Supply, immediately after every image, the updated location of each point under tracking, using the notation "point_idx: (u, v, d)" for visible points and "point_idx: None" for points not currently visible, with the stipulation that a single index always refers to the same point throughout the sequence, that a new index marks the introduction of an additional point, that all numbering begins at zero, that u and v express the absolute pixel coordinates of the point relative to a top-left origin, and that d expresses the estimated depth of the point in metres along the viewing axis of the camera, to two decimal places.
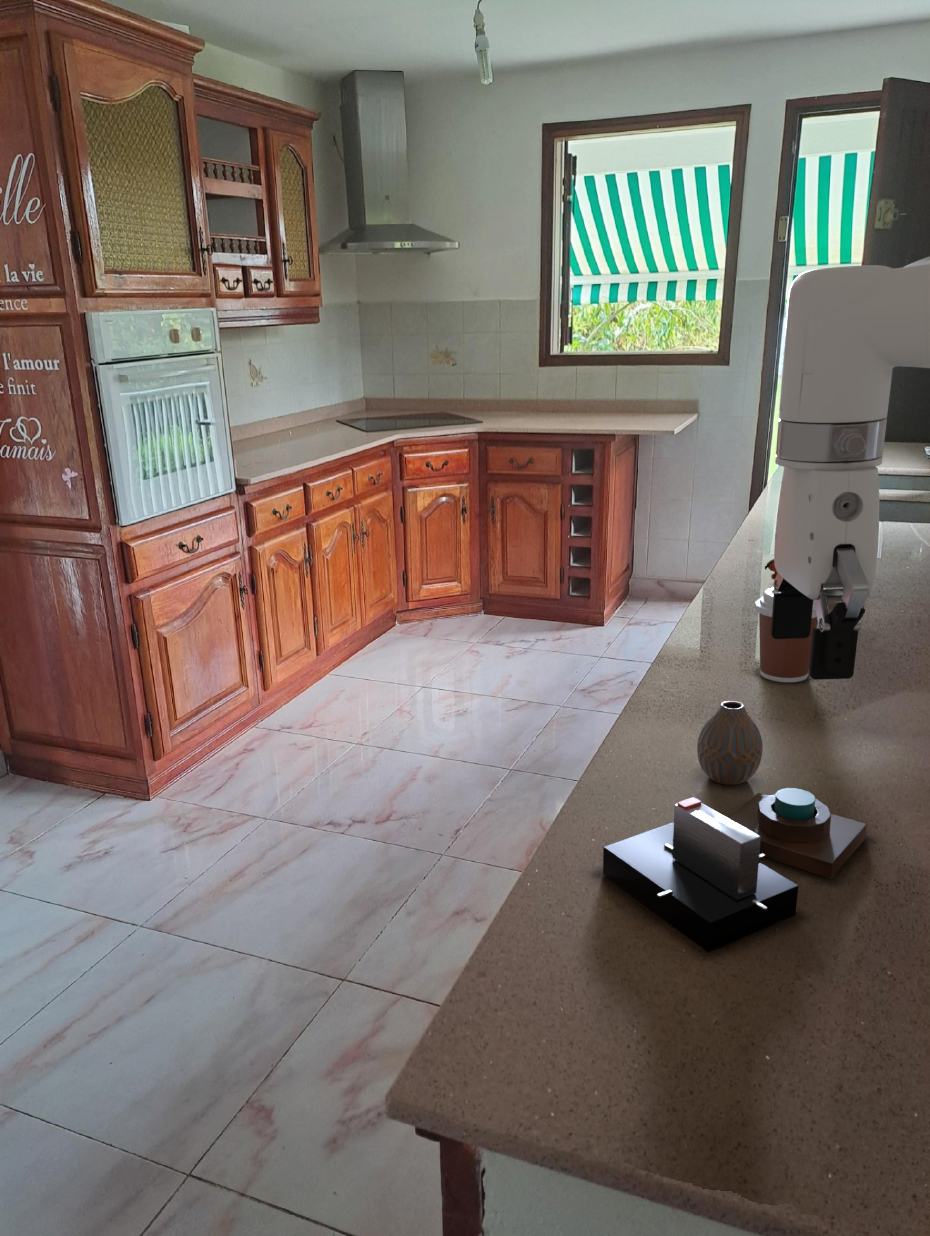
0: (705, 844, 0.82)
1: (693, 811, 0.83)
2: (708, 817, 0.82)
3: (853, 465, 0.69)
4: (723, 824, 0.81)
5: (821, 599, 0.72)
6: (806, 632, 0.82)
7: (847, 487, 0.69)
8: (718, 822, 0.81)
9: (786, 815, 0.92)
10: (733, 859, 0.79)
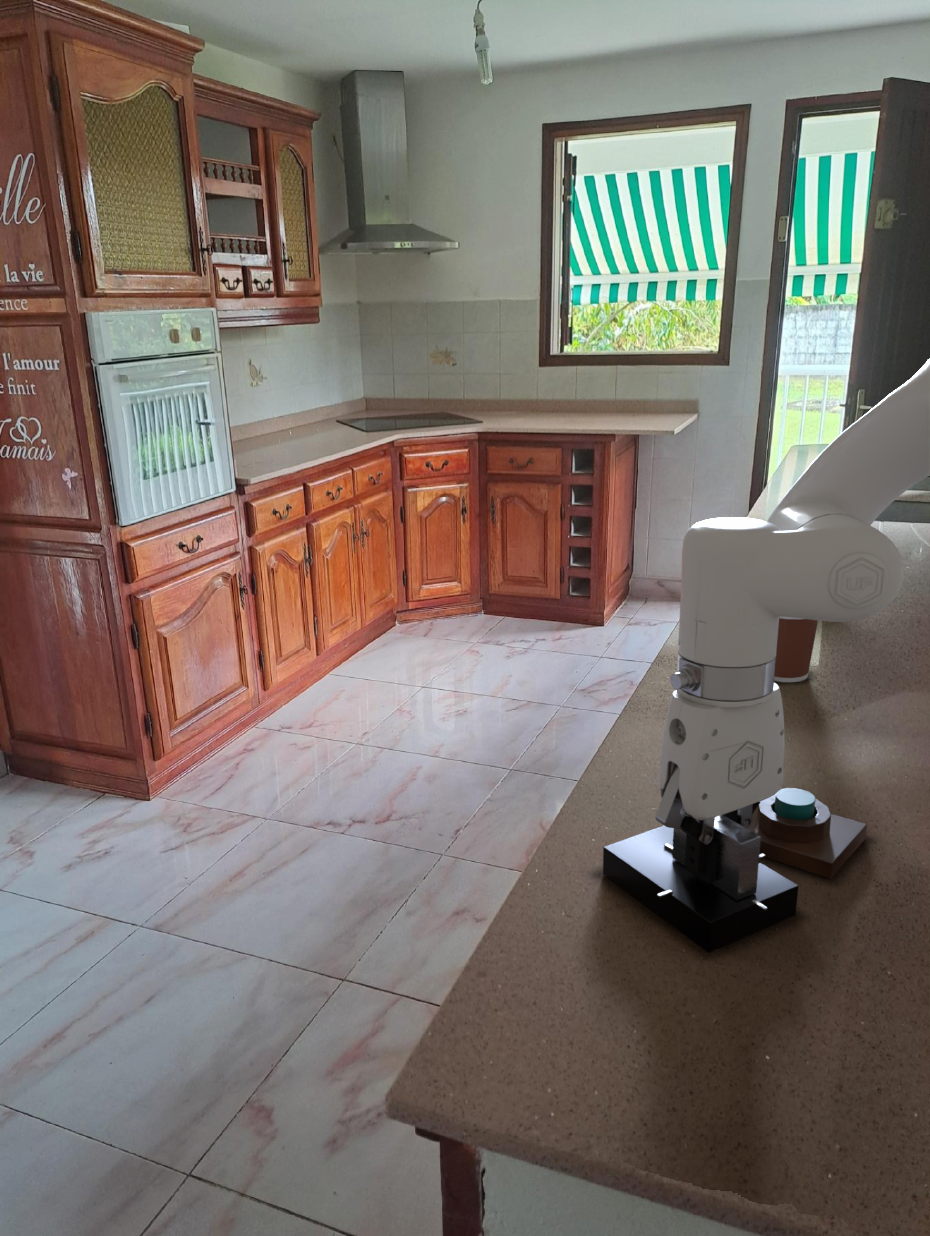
0: None
1: None
2: None
3: (693, 698, 0.76)
4: (723, 824, 0.81)
5: (682, 808, 0.81)
6: None
7: (679, 715, 0.76)
8: (718, 822, 0.81)
9: (786, 815, 0.92)
10: (733, 859, 0.79)
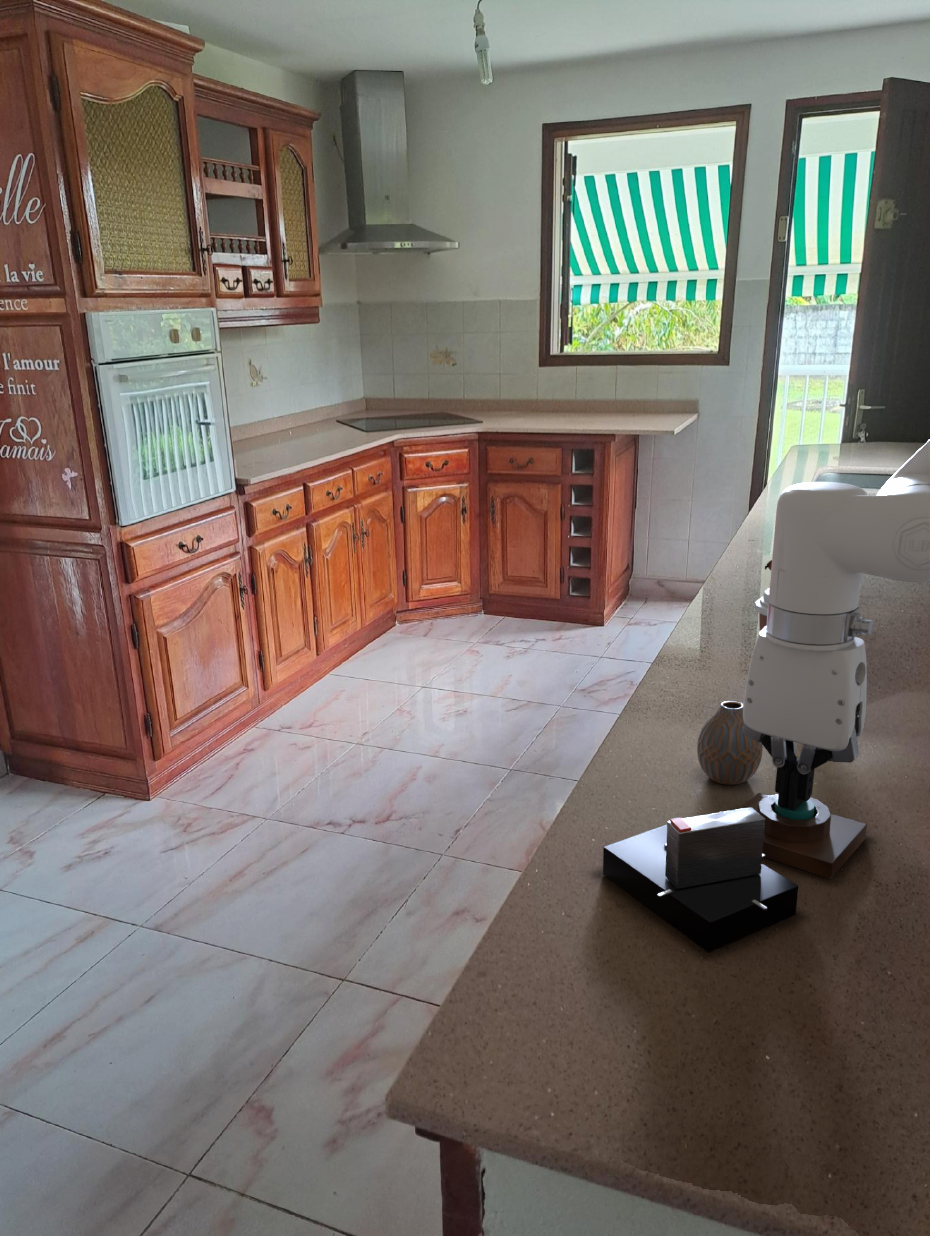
0: (721, 847, 0.82)
1: (697, 827, 0.81)
2: (710, 822, 0.81)
3: (853, 640, 0.85)
4: (727, 818, 0.82)
5: (814, 754, 0.88)
6: None
7: (859, 659, 0.84)
8: (721, 819, 0.82)
9: None
10: (756, 838, 0.82)
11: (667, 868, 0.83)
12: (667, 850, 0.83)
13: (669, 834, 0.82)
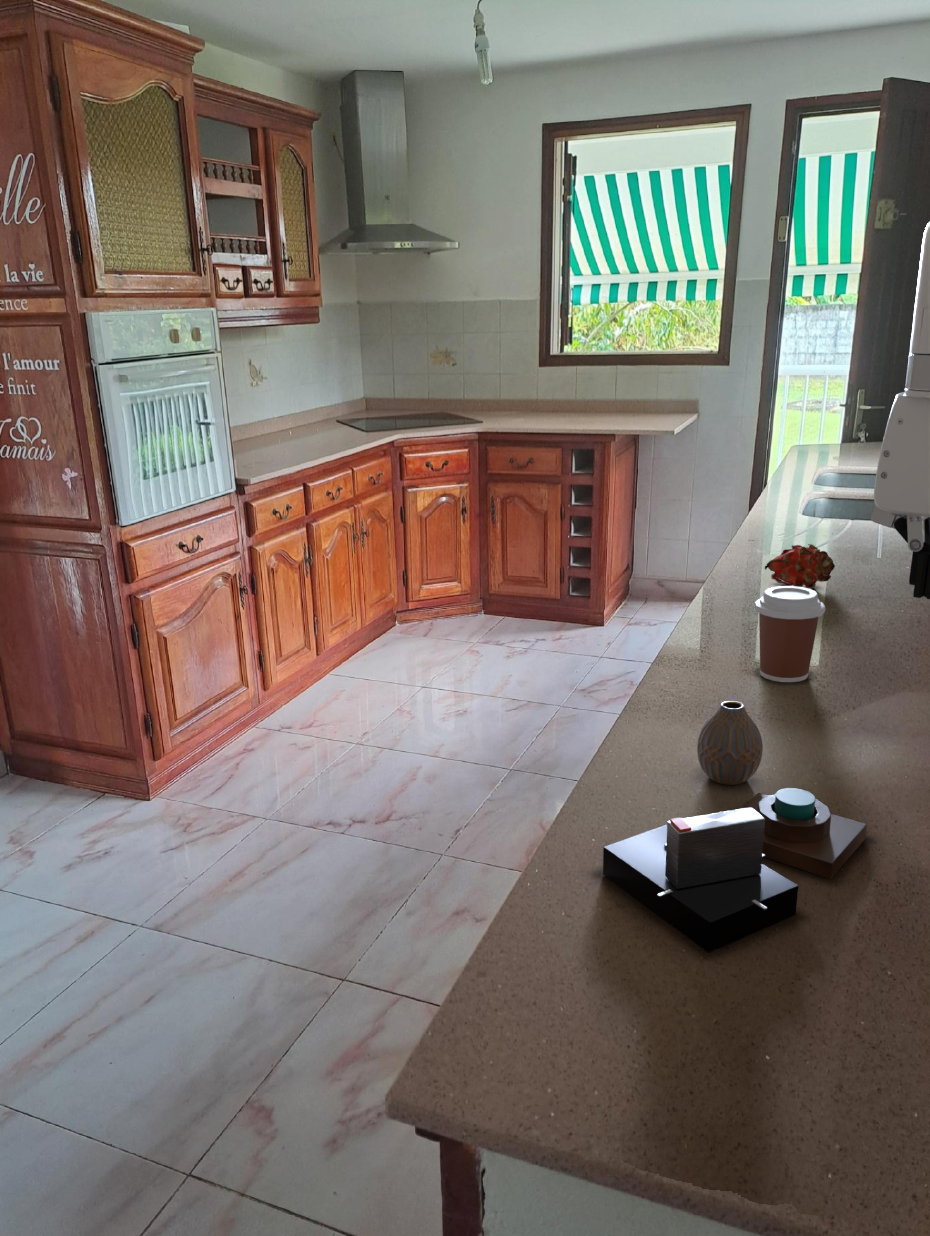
0: (721, 847, 0.82)
1: (697, 827, 0.81)
2: (710, 822, 0.81)
3: None
4: (727, 818, 0.82)
5: None
6: None
7: None
8: (721, 819, 0.82)
9: (786, 815, 0.92)
10: (756, 838, 0.82)
11: (667, 868, 0.83)
12: (667, 850, 0.83)
13: (669, 834, 0.82)
